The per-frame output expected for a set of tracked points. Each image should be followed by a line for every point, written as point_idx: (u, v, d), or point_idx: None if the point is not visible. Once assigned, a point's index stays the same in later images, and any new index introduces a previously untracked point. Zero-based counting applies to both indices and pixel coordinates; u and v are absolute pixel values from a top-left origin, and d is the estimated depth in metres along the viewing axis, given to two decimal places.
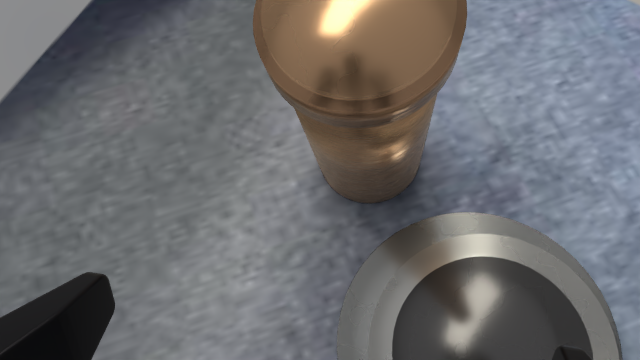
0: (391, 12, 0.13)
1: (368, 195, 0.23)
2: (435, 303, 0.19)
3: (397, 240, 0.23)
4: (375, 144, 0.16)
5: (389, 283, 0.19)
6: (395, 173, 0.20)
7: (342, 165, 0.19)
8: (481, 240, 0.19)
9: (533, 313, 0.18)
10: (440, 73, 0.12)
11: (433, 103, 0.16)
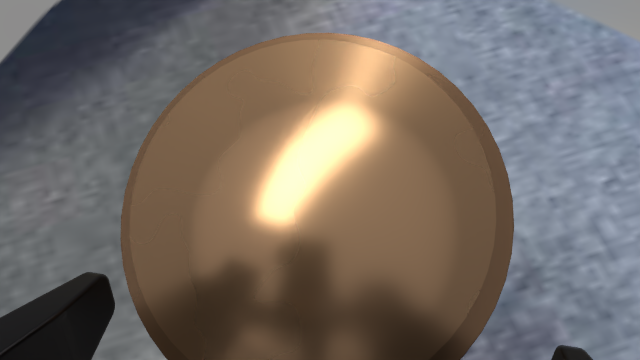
0: (369, 222, 0.07)
1: None
2: None
3: None
4: None
5: None
6: None
7: None
8: None
9: None
10: (463, 353, 0.06)
11: None
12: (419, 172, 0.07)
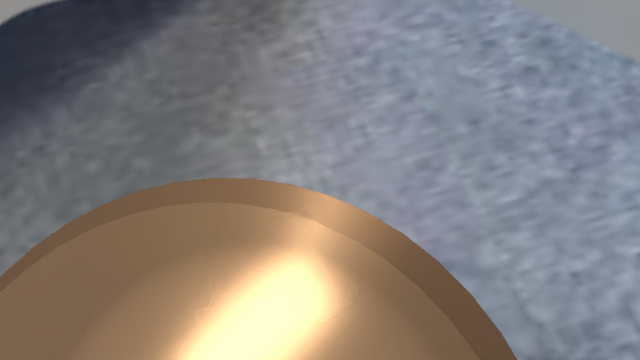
0: None
1: None
2: None
3: None
4: None
5: None
6: None
7: None
8: None
9: None
10: None
11: None
12: None
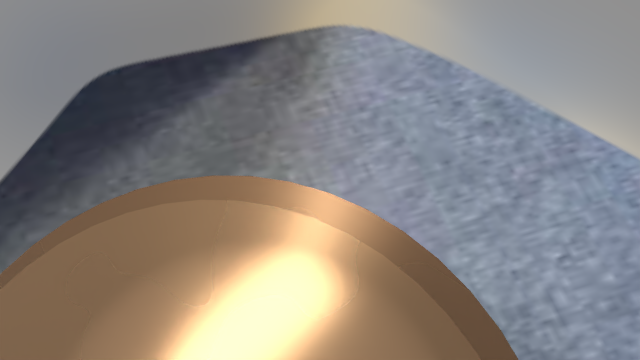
0: None
1: None
2: None
3: None
4: None
5: None
6: None
7: None
8: None
9: None
10: None
11: None
12: None
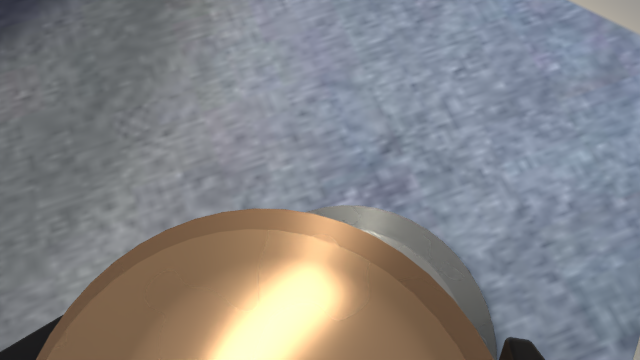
0: None
1: None
2: None
3: None
4: None
5: None
6: None
7: None
8: None
9: None
10: None
11: None
12: None
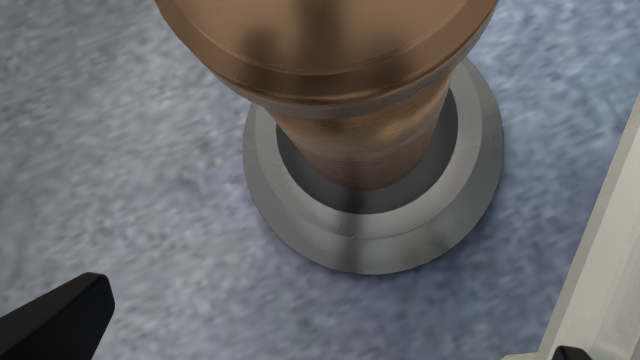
0: None
1: (363, 184, 0.17)
2: None
3: None
4: (364, 134, 0.10)
5: None
6: (398, 161, 0.14)
7: (322, 155, 0.13)
8: None
9: None
10: (476, 20, 0.07)
11: None
12: None
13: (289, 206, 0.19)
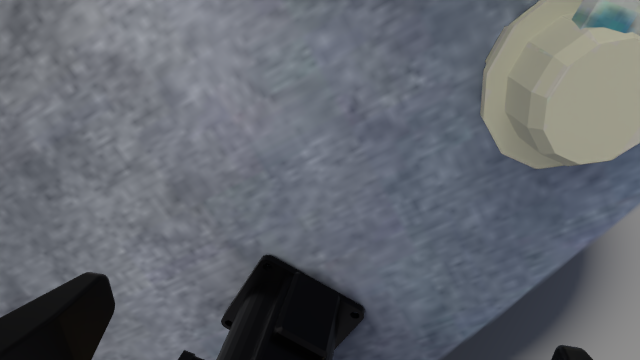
0: None
1: None
2: None
3: None
4: None
5: None
6: None
7: None
8: None
9: None
10: None
11: None
12: None
13: None
